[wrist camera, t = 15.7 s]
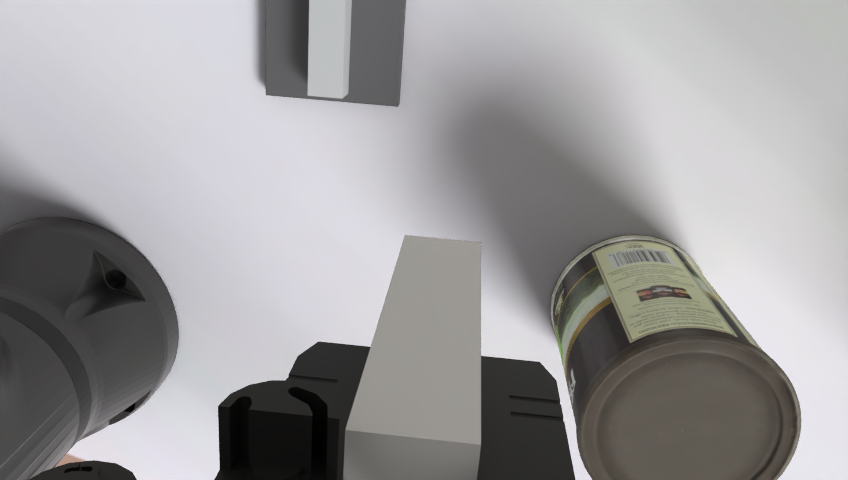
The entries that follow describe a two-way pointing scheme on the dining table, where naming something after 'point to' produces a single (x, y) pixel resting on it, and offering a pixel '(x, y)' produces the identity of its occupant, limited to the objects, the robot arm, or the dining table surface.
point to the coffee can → (666, 371)
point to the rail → (365, 50)
